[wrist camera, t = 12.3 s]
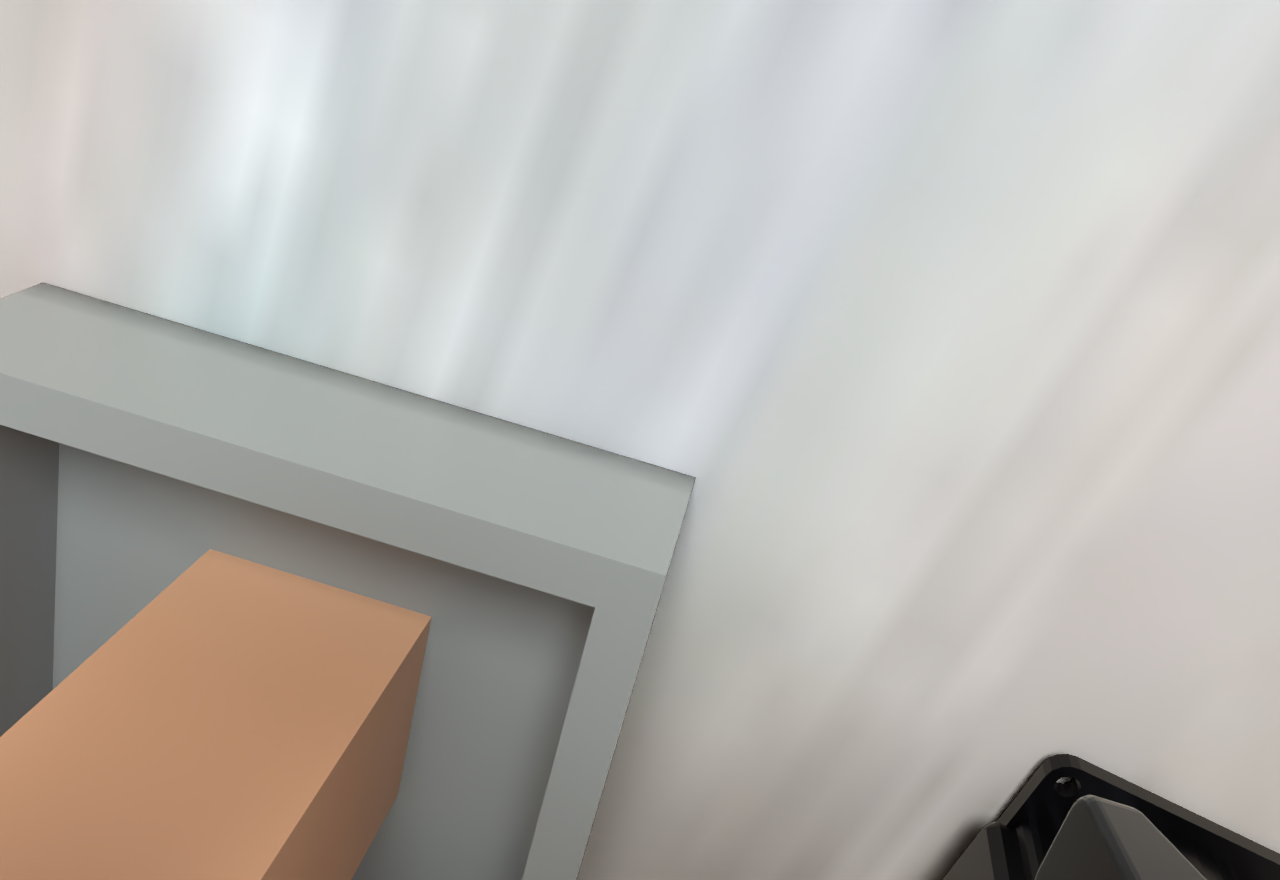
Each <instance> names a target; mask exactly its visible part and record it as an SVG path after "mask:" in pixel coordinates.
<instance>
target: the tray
mask: <svg viewBox="0 0 1280 880" xmlns="http://www.w3.org/2000/svg"><path fill="white" fill-rule="evenodd" d="M695 478H696V477H692V476H689V475H686V474H682V473H679V472H676V471H672V470H669V469H666V468H662V467H659V466H656V465H652V464H649V463H646V462H642V461H639V460H636V459H632V458H629V457H625V456H622V455H619V454H615V453H612V452H609V451H605V450H602V449H599V448H595V447H592V446H589V445H585V444H582V443H579V442H575V441H572V440H569V439H565V438H562V437H559V436H555V435H552V434H548V433H545V432H542V431H538V430H535V429H532V428H528V427H525V426H522V425H518V424H515V423H512V422H508V421H505V420H502V419H498V418H495V417H492V416H488V415H485V414H482V413H478V412H475V411H471V410H468V409H465V408H461V407H458V406H455V405H451V404H448V403H445V402H441V401H438V400H435V399H431V398H428V397H425V396H421V395H418V394H415V393H411V392H408V391H405V390H401V389H398V388H394V387H391V386H388V385H384V384H381V383H378V382H374V381H371V380H368V379H364V378H361V377H358V376H354V375H351V374H348V373H344V372H341V371H338V370H334V369H331V368H328V367H324V366H321V365H317V364H314V363H311V362H307V361H304V360H301V359H297V358H294V357H291V356H287V355H284V354H281V353H277V352H274V351H271V350H267V349H264V348H261V347H257V346H254V345H251V344H247V343H244V342H240V341H237V340H234V339H230V338H227V337H224V336H220V335H217V334H214V333H210V332H207V331H204V330H200V329H197V328H194V327H190V326H187V325H184V324H180V323H177V322H174V321H170V320H167V319H163V318H160V317H157V316H153V315H150V314H147V313H143V312H140V311H137V310H133V309H130V308H127V307H123V306H120V305H117V304H113V303H110V302H107V301H103V300H100V299H97V298H93V297H90V296H86V295H83V294H80V293H76V292H73V291H70V290H66V289H63V288H60V287H56V286H53V285H50V284H46V283H40V284H38V285H35V286H32V287H30V288H27V289H25V290H22V291H19V292H17V293H14V294H11V295H9V296H6V297H4V298H1V299H0V737H1V736H2V735H3V734H4V733H5V732H7V731H8V730H9V729H10V728H11V727H12V726H13V725H14V724H15V723H17V722H18V721H19V720H20V719H21V718H22V717H23V716H24V715H25V714H27V713H28V712H29V711H30V710H31V709H32V708H33V707H34V706H35V705H37V704H38V703H39V702H40V701H41V700H42V699H43V698H44V697H45V696H47V695H48V694H49V693H50V692H51V691H52V690H53V689H54V688H56V687H57V686H58V685H59V684H60V683H61V682H62V681H63V680H64V679H66V678H67V677H68V676H69V675H70V674H71V673H72V672H73V671H74V670H76V669H77V668H78V667H79V666H80V665H81V664H82V663H83V662H84V661H86V660H87V659H88V658H89V657H90V656H91V655H92V654H93V653H94V652H96V651H97V650H98V649H99V648H100V647H101V646H102V645H103V644H105V643H106V642H107V641H108V640H109V639H110V638H111V637H112V636H113V635H115V634H116V633H117V632H118V631H119V630H120V629H121V628H122V627H123V626H125V625H126V624H127V623H128V622H129V621H130V620H131V619H132V618H133V617H135V616H136V615H137V614H138V613H139V612H140V611H141V610H142V609H144V608H145V607H146V606H147V605H148V604H149V603H150V602H151V601H152V600H154V599H155V598H156V597H157V596H158V595H159V594H160V593H161V592H162V591H164V590H165V589H166V588H167V587H168V586H169V585H170V584H171V583H172V582H174V581H175V580H176V579H177V578H178V577H179V576H180V575H181V574H182V573H184V572H185V571H186V570H187V569H188V568H189V567H190V566H191V565H193V564H194V563H195V562H196V561H197V560H198V559H199V558H200V557H201V556H203V555H204V554H205V553H206V552H207V551H208V550H209V549H212V550H215V551H219V552H222V553H225V554H228V555H232V556H235V557H238V558H242V559H245V560H248V561H251V562H255V563H258V564H261V565H264V566H268V567H271V568H274V569H277V570H281V571H284V572H287V573H290V574H294V575H297V576H300V577H304V578H307V579H310V580H313V581H317V582H320V583H323V584H326V585H330V586H333V587H336V588H339V589H343V590H346V591H349V592H353V593H356V594H359V595H362V596H366V597H369V598H372V599H375V600H379V601H382V602H385V603H388V604H392V605H395V606H398V607H401V608H405V609H408V610H411V611H415V612H418V613H421V614H424V615H428V616H431V617H432V618H431V623H430V628H429V633H428V639H427V644H426V649H425V654H424V660H423V665H422V670H421V675H420V681H419V686H418V691H417V696H416V702H415V707H414V712H413V717H412V723H411V728H410V733H409V738H408V744H407V749H406V754H405V759H404V765H403V770H402V775H401V781H400V786H399V791H398V796H397V798H396V799H395V801H394V803H393V805H392V807H391V808H390V810H389V812H388V814H387V816H386V818H385V819H384V821H383V823H382V825H381V827H380V828H379V830H378V832H377V834H376V836H375V838H374V839H373V841H372V843H371V845H370V847H369V848H368V850H367V852H366V854H365V856H364V858H363V859H362V861H361V863H360V865H359V867H358V868H357V870H356V872H355V874H354V876H353V878H352V879H351V880H577V876H578V873H579V870H580V866H581V863H582V859H583V856H584V853H585V849H586V846H587V843H588V839H589V836H590V832H591V829H592V826H593V822H594V819H595V816H596V812H597V809H598V805H599V802H600V799H601V795H602V792H603V789H604V785H605V782H606V778H607V775H608V772H609V768H610V765H611V762H612V758H613V755H614V751H615V748H616V745H617V741H618V738H619V735H620V731H621V728H622V724H623V721H624V718H625V714H626V711H627V708H628V704H629V701H630V697H631V694H632V691H633V687H634V684H635V681H636V677H637V674H638V671H639V667H640V664H641V660H642V657H643V654H644V650H645V647H646V644H647V640H648V637H649V633H650V630H651V627H652V623H653V620H654V617H655V613H656V610H657V606H658V603H659V600H660V596H661V593H662V590H663V586H664V583H665V579H666V576H667V573H668V569H669V566H670V563H671V559H672V556H673V552H674V549H675V546H676V542H677V539H678V536H679V532H680V529H681V525H682V522H683V519H684V515H685V512H686V509H687V505H688V502H689V498H690V495H691V492H692V488H693V485H694V482H695Z"/></svg>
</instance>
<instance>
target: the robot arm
mask: <svg viewBox="0 0 1280 880" xmlns="http://www.w3.org/2000/svg"><path fill="white" fill-rule="evenodd" d="M1067 776H1069V777H1073V778H1075V780H1074V781H1072V782H1071V783H1067V784H1060V783H1057V782H1056V781H1057V780H1058V779H1060V778H1061V777H1067ZM943 880H1280V854H1279V853H1277V852H1274V851H1272V850H1270V849H1268V848H1266V847H1264V846H1262V845H1260V844H1258V843H1256V842H1254V841H1252V840H1249V839H1247V838H1245V837H1243V836H1241V835H1239V834H1237V833H1235V832H1233V831H1231V830H1229V829H1227V828H1224V827H1222V826H1220V825H1218V824H1216V823H1214V822H1212V821H1210V820H1208V819H1206V818H1204V817H1202V816H1199V815H1197V814H1195V813H1193V812H1191V811H1189V810H1187V809H1185V808H1183V807H1181V806H1179V805H1176V804H1174V803H1172V802H1170V801H1168V800H1166V799H1164V798H1162V797H1160V796H1158V795H1156V794H1154V793H1151V792H1149V791H1147V790H1145V789H1143V788H1141V787H1139V786H1137V785H1135V784H1133V783H1131V782H1129V781H1126V780H1124V779H1122V778H1120V777H1118V776H1116V775H1114V774H1112V773H1110V772H1108V771H1106V770H1104V769H1101V768H1099V767H1097V766H1095V765H1093V764H1091V763H1089V762H1087V761H1085V760H1083V759H1081V758H1078V757H1076V756H1072V755H1069V754H1061V755H1056V756H1053V757H1050V758H1048V759H1047V760H1046V761H1045V762H1043V763H1042V764H1041V766H1040V767H1039V768H1038V770H1037V771H1036V772H1035V773H1034V775H1033V776H1032V777H1031V778H1030V780H1029V781H1028V782H1027V784H1026V785H1025V786H1024V787H1023V789H1022V790H1021V791H1020V793H1019V794H1018V795H1017V796H1016V798H1015V799H1014V800H1013V801H1012V803H1011V804H1010V805H1009V807H1008V808H1007V809H1006V810H1005V812H1004V813H1003V814H1002V815H1001V817H1000V818H999V819H998V821H997V822H993V823H991V824H989V825H987V826H985V827H983V828H982V830H981V831H980V832H979V833H978V835H977V836H976V837H975V839H974V840H973V841H972V842H971V844H970V845H969V846H968V848H967V849H966V850H965V851H964V853H963V854H962V855H961V857H960V858H959V859H958V860H957V862H956V863H955V864H954V866H953V867H952V868H951V869H950V871H949V872H948V873H947V875H946V876H945V877H944V878H943Z"/></svg>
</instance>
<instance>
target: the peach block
mask: <svg viewBox="0 0 1280 880" xmlns="http://www.w3.org/2000/svg"><path fill="white" fill-rule="evenodd" d="M431 618H432V617H431V616H428V615H424V614H421V613H418V612H415V611H411V610H408V609H405V608H401V607H398V606H395V605H392V604H388V603H385V602H382V601H379V600H375V599H372V598H369V597H366V596H362V595H359V594H356V593H353V592H349V591H346V590H343V589H339V588H336V587H333V586H330V585H326V584H323V583H320V582H317V581H313V580H310V579H307V578H304V577H300V576H297V575H294V574H290V573H287V572H284V571H281V570H277V569H274V568H271V567H268V566H264V565H261V564H258V563H255V562H251V561H248V560H245V559H242V558H238V557H235V556H232V555H228V554H225V553H222V552H219V551H215V550H212V549H209V550H208V551H207V552H206V553H205V554H204V555H203V556H201V557H200V558H199V559H198V560H197V561H196V562H195V563H194V564H193V565H191V566H190V567H189V568H188V569H187V570H186V571H185V572H184V573H182V574H181V575H180V576H179V577H178V578H177V579H176V580H175V581H174V582H172V583H171V584H170V585H169V586H168V587H167V588H166V589H165V590H164V591H162V592H161V593H160V594H159V595H158V596H157V597H156V598H155V599H154V600H152V601H151V602H150V603H149V604H148V605H147V606H146V607H145V608H144V609H142V610H141V611H140V612H139V613H138V614H137V615H136V616H135V617H133V618H132V619H131V620H130V621H129V622H128V623H127V624H126V625H125V626H123V627H122V628H121V629H120V630H119V631H118V632H117V633H116V634H115V635H113V636H112V637H111V638H110V639H109V640H108V641H107V642H106V643H105V644H103V645H102V646H101V647H100V648H99V649H98V650H97V651H96V652H94V653H93V654H92V655H91V656H90V657H89V658H88V659H87V660H86V661H84V662H83V663H82V664H81V665H80V666H79V667H78V668H77V669H76V670H74V671H73V672H72V673H71V674H70V675H69V676H68V677H67V678H66V679H64V680H63V681H62V682H61V683H60V684H59V685H58V686H57V687H56V688H54V689H53V690H52V691H51V692H50V693H49V694H48V695H47V696H45V697H44V698H43V699H42V700H41V701H40V702H39V703H38V704H37V705H35V706H34V707H33V708H32V709H31V710H30V711H29V712H28V713H27V714H25V715H24V716H23V717H22V718H21V719H20V720H19V721H18V722H17V723H15V724H14V725H13V726H12V727H11V728H10V729H9V730H8V731H7V732H5V733H4V734H3V735H2V736H1V737H0V880H351V879H352V878H353V876H354V874H355V872H356V870H357V868H358V867H359V865H360V863H361V861H362V859H363V858H364V856H365V854H366V852H367V850H368V848H369V847H370V845H371V843H372V841H373V839H374V838H375V836H376V834H377V832H378V830H379V828H380V827H381V825H382V823H383V821H384V819H385V818H386V816H387V814H388V812H389V810H390V808H391V807H392V805H393V803H394V801H395V799H396V798H397V796H398V791H399V786H400V781H401V775H402V770H403V765H404V759H405V754H406V749H407V744H408V738H409V733H410V728H411V723H412V717H413V712H414V707H415V702H416V696H417V691H418V686H419V681H420V675H421V670H422V665H423V660H424V654H425V649H426V644H427V639H428V633H429V628H430V623H431Z"/></svg>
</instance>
